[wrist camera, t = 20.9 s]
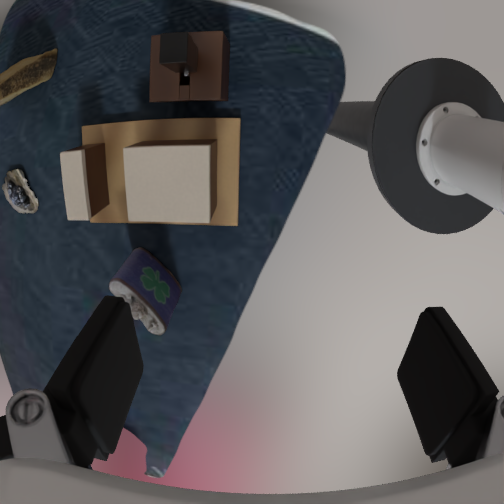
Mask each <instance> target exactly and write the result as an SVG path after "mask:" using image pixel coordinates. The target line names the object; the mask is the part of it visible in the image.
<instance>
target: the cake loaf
mask: <svg viewBox="0 0 504 504" xmlns="http://www.w3.org/2000/svg"><path fill="white" fill-rule="evenodd" d="M123 157H124V174H125V187H126V199H127V210H128V220H129V221H143V222H186V223H210V221H211V219H212V216H213V214H214V212H215V209H216V207H217V139H188V140H153V141H141V142H139V143H136V144H133V145H130V146H127V147H125V148H123Z"/></svg>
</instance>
